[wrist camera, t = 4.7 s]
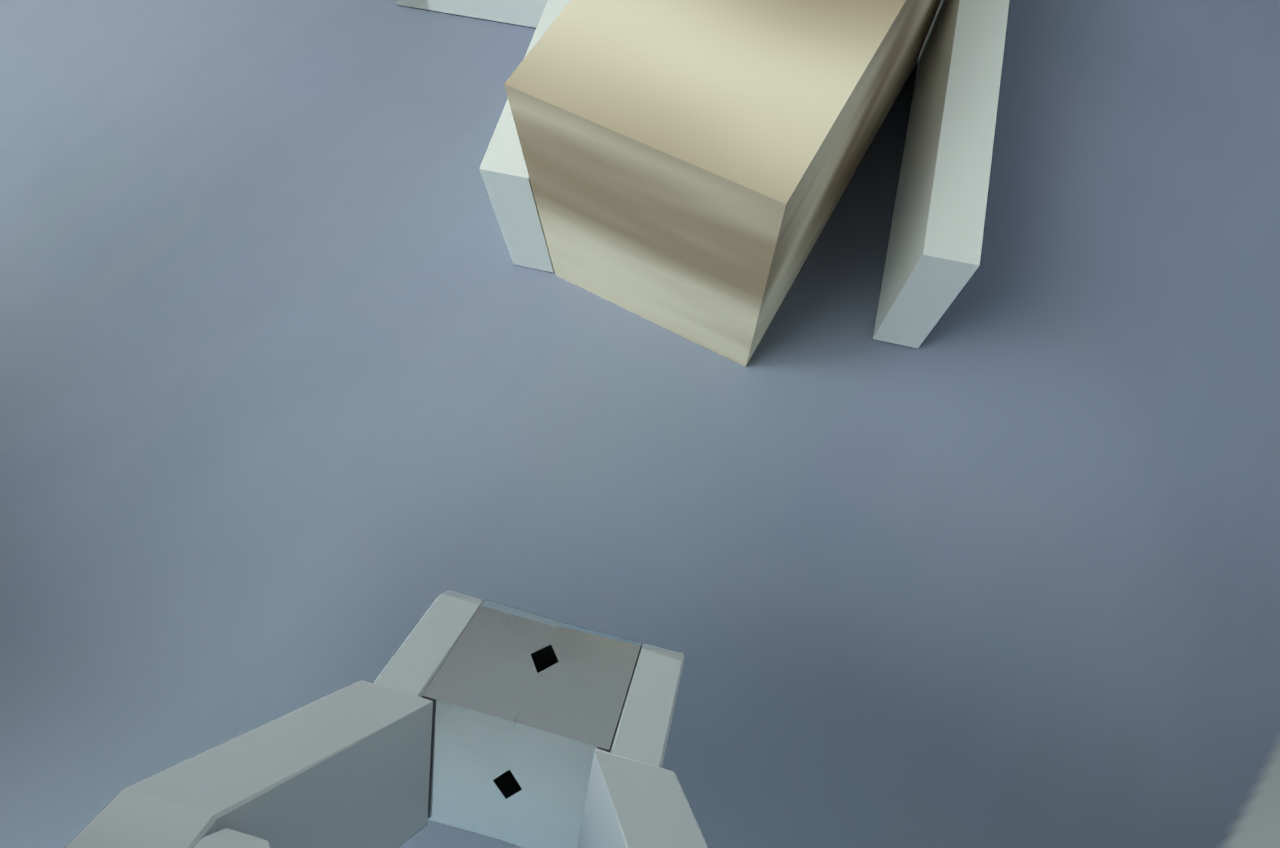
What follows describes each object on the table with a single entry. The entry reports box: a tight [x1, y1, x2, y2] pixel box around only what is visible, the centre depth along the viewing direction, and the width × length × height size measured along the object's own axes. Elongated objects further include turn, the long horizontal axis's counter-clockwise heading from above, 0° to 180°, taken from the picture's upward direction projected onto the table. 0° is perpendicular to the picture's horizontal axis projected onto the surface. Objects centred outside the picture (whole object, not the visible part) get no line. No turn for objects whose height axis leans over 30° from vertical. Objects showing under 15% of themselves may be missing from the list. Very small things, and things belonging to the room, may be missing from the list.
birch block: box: [504, 0, 941, 367], centre depth 18 cm, size 12×6×7 cm, turn 151°
